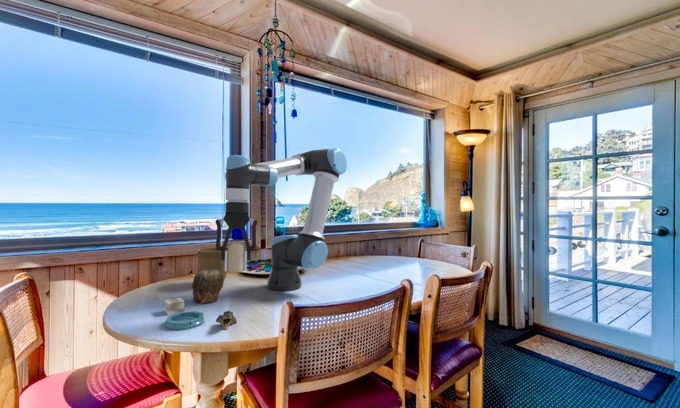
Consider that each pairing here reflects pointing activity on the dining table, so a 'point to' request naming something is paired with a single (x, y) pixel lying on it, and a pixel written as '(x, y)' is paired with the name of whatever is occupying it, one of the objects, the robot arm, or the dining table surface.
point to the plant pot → (211, 260)
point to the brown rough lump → (207, 286)
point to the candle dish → (184, 320)
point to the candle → (235, 257)
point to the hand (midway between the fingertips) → (235, 269)
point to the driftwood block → (174, 306)
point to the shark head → (226, 319)
